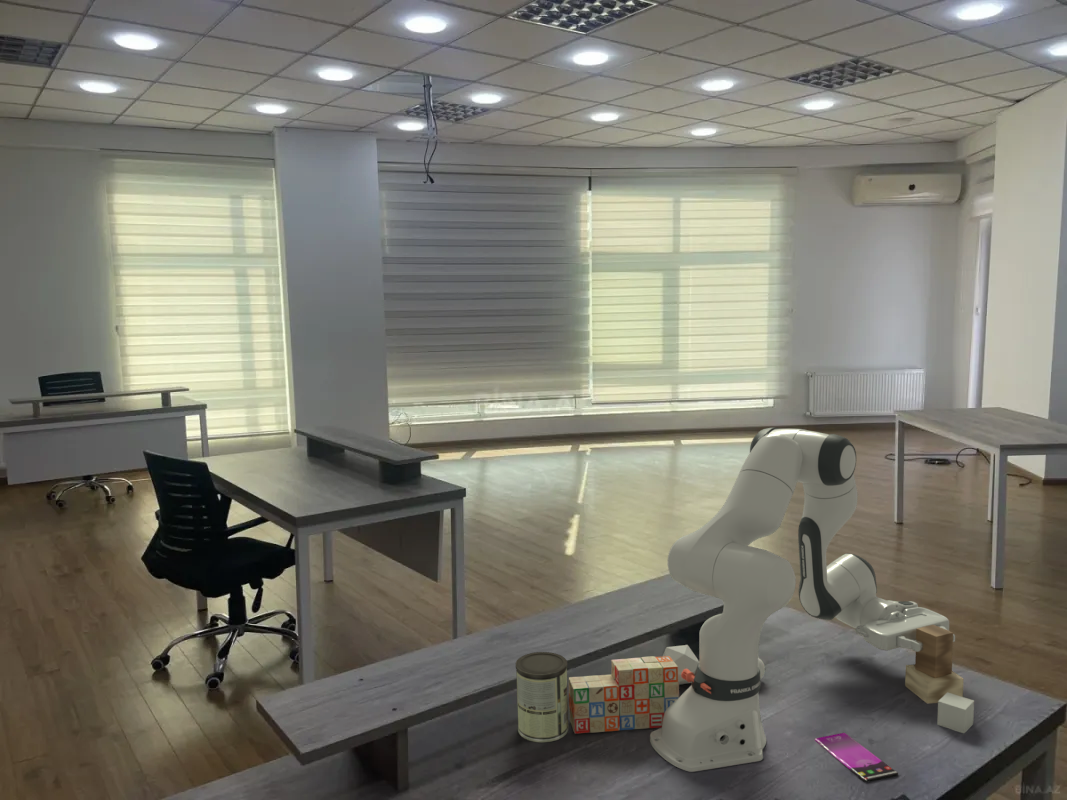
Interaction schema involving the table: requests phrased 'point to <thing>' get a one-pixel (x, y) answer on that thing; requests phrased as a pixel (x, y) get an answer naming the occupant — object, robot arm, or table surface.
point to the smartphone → (856, 757)
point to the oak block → (932, 684)
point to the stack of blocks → (624, 695)
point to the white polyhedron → (682, 660)
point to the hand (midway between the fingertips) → (937, 643)
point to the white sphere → (761, 667)
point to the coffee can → (542, 696)
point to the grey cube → (955, 712)
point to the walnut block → (934, 651)
